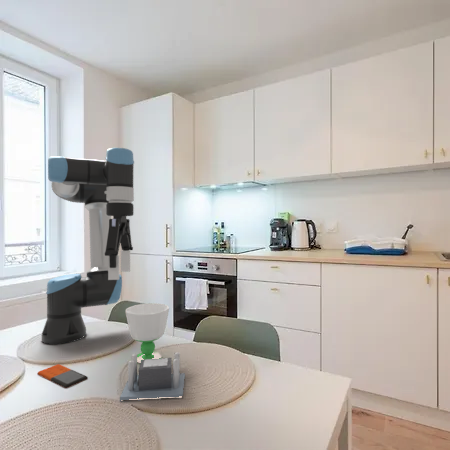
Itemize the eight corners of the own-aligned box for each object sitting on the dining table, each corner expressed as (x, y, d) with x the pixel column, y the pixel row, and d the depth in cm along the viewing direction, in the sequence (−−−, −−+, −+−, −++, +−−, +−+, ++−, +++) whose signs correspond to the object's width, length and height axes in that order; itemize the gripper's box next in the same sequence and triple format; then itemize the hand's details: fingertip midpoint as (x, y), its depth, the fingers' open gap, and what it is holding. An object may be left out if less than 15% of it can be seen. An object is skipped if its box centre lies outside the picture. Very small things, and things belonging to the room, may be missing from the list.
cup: (155, 370, 91) (154, 316, 91) (115, 364, 95) (115, 312, 95) (177, 352, 104) (176, 305, 104) (141, 347, 108) (141, 301, 108)
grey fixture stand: (130, 379, 86) (130, 349, 86) (184, 376, 87) (184, 348, 87) (119, 401, 75) (119, 368, 75) (182, 398, 76) (182, 365, 76)
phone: (59, 362, 95) (88, 375, 87) (59, 367, 95) (88, 380, 87) (36, 371, 89) (65, 385, 81) (36, 376, 89) (65, 390, 81)
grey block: (140, 379, 83) (140, 358, 83) (171, 376, 85) (171, 356, 85) (137, 390, 78) (137, 368, 78) (171, 388, 79) (171, 366, 79)
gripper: (117, 204, 103) (117, 268, 103) (92, 199, 78) (92, 283, 78) (141, 204, 104) (141, 268, 104) (122, 199, 79) (122, 283, 79)
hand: (120, 275), depth 91 cm, fingers open, 13 cm apart
